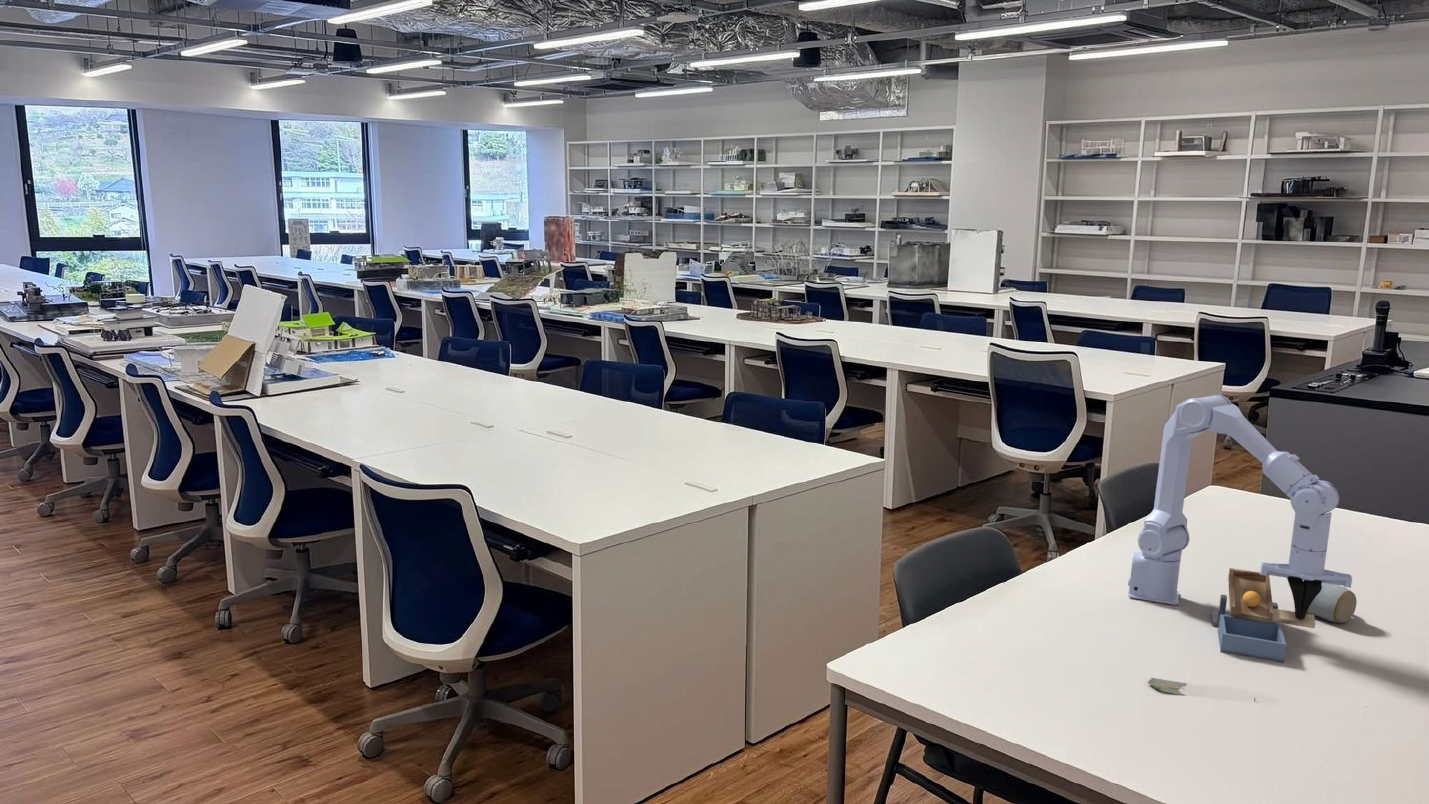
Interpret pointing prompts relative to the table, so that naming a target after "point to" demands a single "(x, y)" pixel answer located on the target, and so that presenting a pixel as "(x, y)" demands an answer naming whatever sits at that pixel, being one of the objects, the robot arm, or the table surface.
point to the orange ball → (1251, 599)
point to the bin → (1251, 638)
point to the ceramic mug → (1333, 603)
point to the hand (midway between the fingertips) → (1299, 616)
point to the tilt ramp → (1264, 611)
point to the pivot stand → (1222, 609)
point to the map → (1167, 685)
